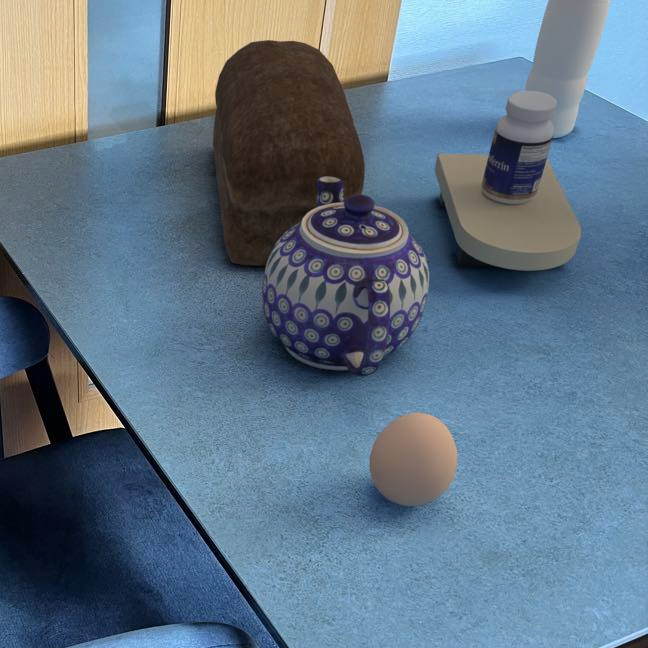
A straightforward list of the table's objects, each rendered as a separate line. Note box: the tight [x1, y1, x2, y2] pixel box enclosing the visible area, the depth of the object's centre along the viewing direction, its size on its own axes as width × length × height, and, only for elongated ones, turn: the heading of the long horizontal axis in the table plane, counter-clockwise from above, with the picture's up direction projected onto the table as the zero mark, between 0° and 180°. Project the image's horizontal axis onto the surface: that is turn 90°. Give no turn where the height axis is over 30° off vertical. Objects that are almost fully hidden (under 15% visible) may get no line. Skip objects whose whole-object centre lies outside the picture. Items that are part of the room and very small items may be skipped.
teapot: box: [261, 176, 430, 377], centre depth 94 cm, size 25×15×15 cm, turn 179°
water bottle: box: [524, 0, 611, 139], centre depth 124 cm, size 7×7×25 cm
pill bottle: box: [481, 90, 557, 204], centre depth 106 cm, size 6×6×10 cm
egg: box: [368, 412, 458, 507], centre depth 81 cm, size 7×7×8 cm
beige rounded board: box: [434, 153, 582, 272], centre depth 110 cm, size 22×12×5 cm, turn 175°
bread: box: [212, 39, 366, 267], centre depth 114 cm, size 15×32×16 cm, turn 179°
